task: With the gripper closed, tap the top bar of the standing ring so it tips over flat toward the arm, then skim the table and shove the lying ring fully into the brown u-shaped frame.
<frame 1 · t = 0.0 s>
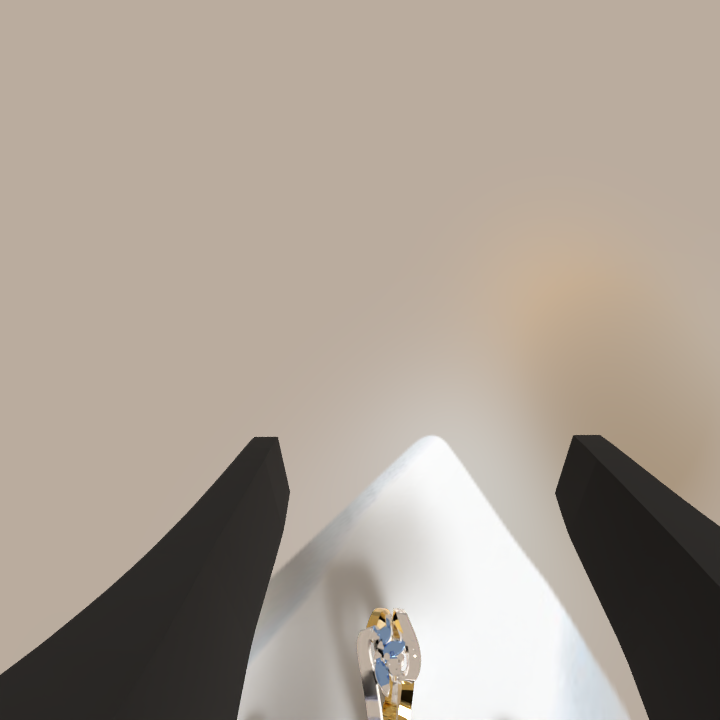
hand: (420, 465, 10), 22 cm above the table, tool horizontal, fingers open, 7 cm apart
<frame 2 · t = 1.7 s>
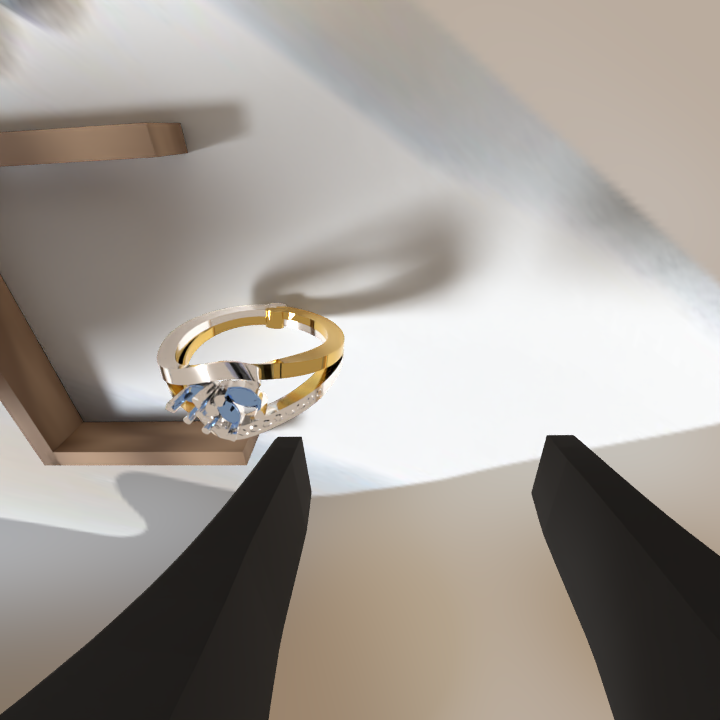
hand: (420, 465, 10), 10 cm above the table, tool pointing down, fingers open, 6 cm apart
brown u-shaped frame: (112, 315, 19), on the table
ring: (279, 309, 19), on the table
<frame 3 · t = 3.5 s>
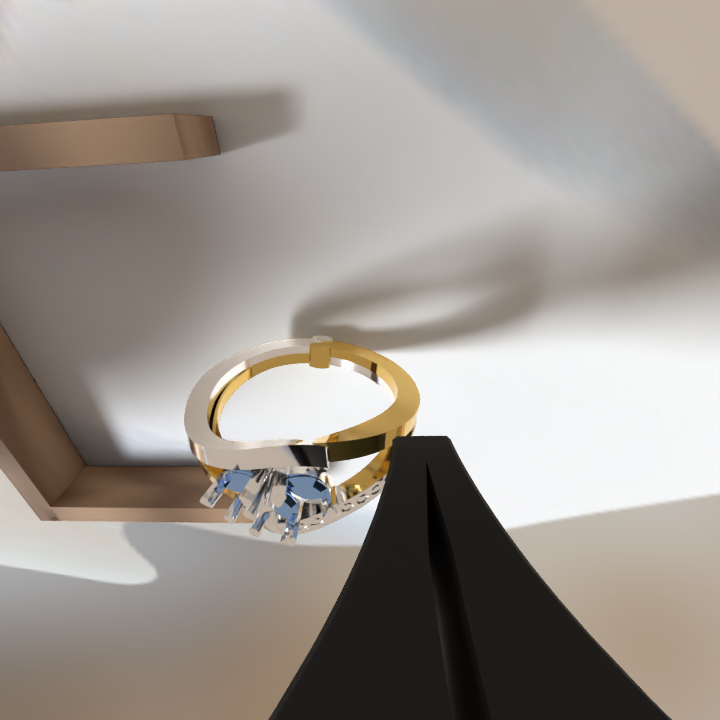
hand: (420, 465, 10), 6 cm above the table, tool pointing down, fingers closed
brown u-shaped frame: (121, 349, 16), on the table
ring: (323, 342, 15), on the table, touching gripper
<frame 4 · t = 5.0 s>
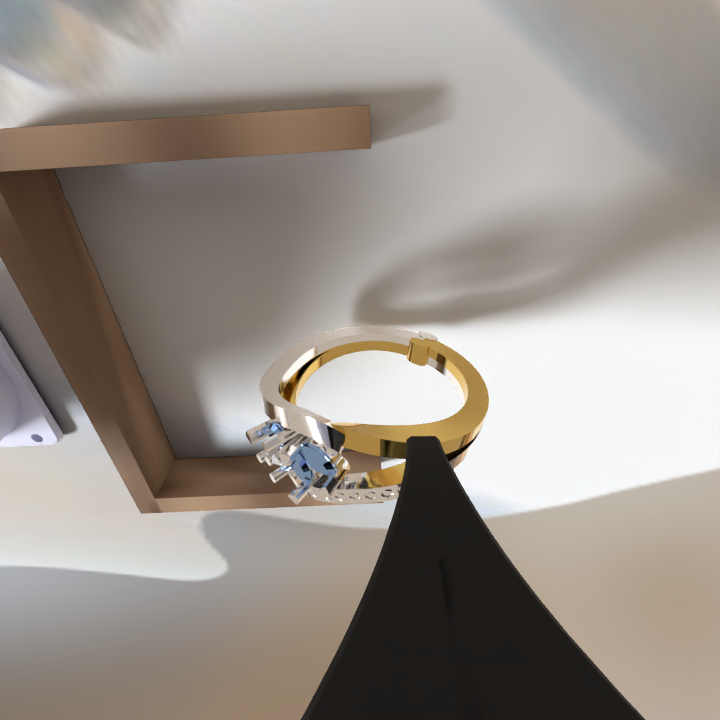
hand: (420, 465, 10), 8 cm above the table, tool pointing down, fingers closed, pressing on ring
brown u-shaped frame: (235, 338, 16), on the table
ring: (430, 340, 15), point 1 cm above the table, touching gripper
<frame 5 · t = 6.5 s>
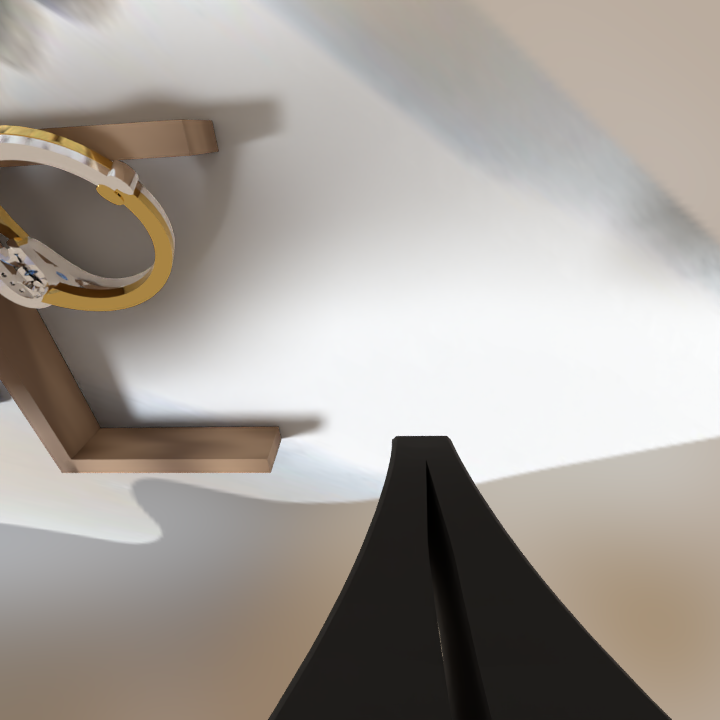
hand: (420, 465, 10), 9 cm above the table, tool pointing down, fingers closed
brown u-shaped frame: (134, 319, 19), on the table
ring: (130, 170, 12), point 3 cm above the table, touching brown u-shaped frame
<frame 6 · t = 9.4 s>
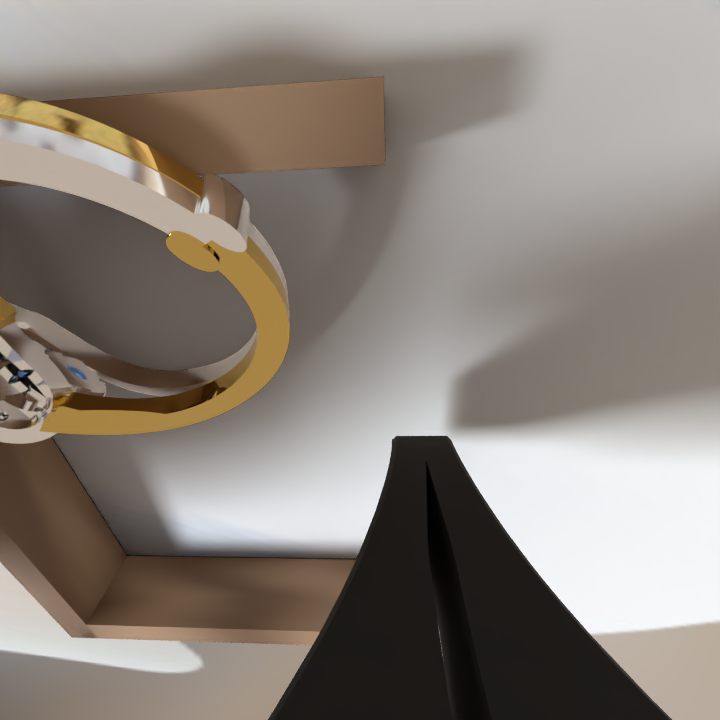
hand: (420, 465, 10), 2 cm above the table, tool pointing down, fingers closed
brown u-shaped frame: (190, 424, 11), on the table
ring: (243, 198, 5), point 3 cm above the table, touching brown u-shaped frame
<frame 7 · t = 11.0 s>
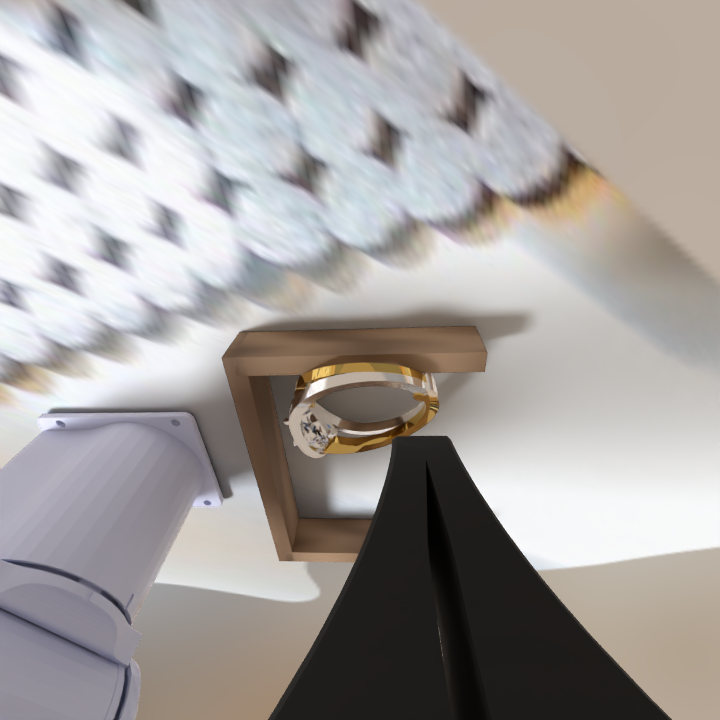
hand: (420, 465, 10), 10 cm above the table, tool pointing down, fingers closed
brown u-shaped frame: (360, 446, 23), on the table
ring: (438, 382, 17), point 3 cm above the table, touching brown u-shaped frame
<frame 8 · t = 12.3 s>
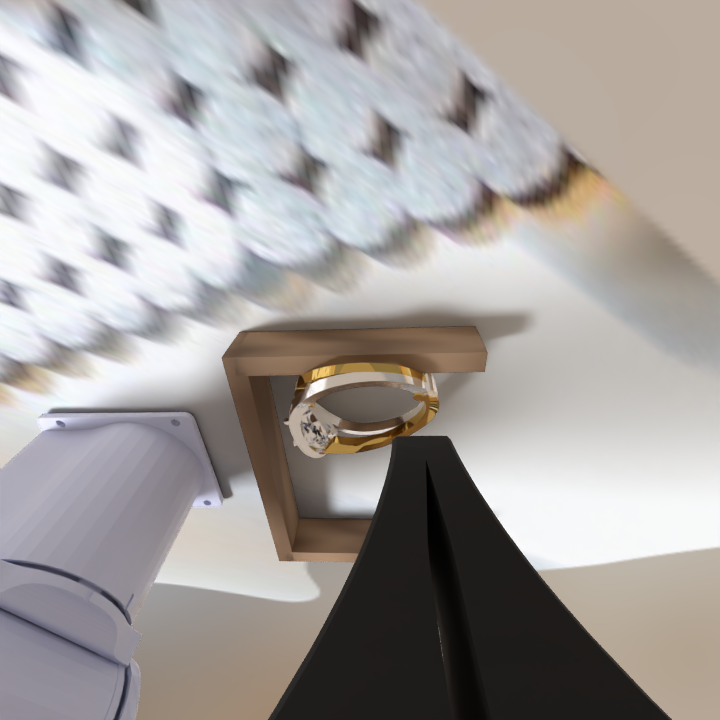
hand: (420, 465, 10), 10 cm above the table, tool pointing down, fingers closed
brown u-shaped frame: (360, 446, 23), on the table
ring: (438, 382, 17), point 3 cm above the table, touching brown u-shaped frame
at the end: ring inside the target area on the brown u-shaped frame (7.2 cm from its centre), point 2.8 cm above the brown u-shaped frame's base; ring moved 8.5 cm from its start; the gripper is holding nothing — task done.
